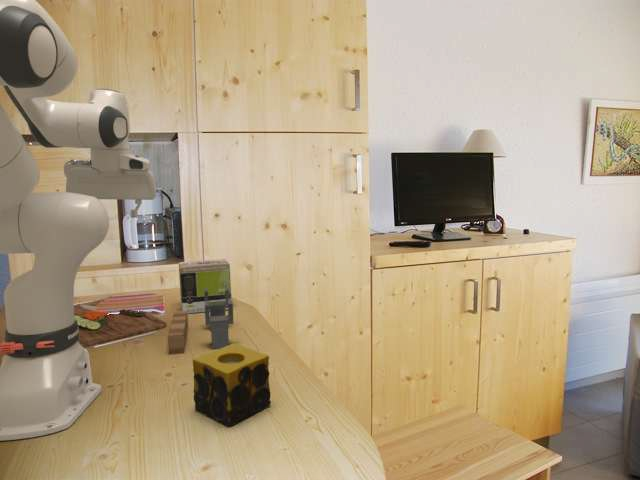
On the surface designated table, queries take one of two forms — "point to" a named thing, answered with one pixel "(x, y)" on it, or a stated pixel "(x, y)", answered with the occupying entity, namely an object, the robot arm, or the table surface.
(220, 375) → the yellow and black cube
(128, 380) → the table surface
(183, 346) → the rail
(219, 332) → the bracket near
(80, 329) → the chopping board
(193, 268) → the tea box
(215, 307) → the bracket far
